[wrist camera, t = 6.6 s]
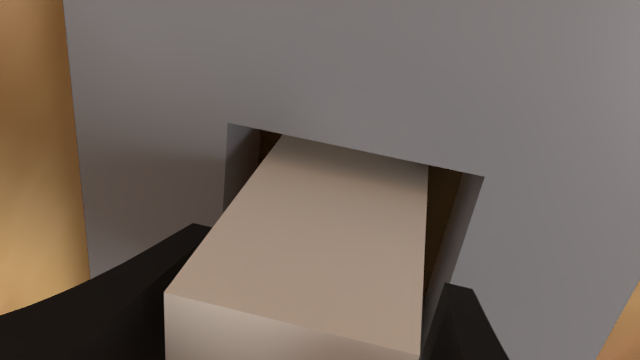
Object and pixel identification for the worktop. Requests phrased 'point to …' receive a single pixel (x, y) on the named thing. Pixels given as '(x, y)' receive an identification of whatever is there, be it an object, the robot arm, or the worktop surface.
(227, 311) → the square peg
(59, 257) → the worktop surface
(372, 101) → the socket plate
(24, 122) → the worktop surface
